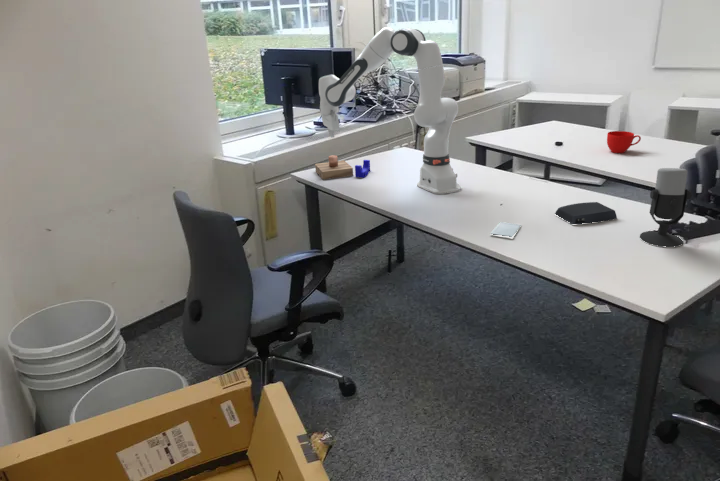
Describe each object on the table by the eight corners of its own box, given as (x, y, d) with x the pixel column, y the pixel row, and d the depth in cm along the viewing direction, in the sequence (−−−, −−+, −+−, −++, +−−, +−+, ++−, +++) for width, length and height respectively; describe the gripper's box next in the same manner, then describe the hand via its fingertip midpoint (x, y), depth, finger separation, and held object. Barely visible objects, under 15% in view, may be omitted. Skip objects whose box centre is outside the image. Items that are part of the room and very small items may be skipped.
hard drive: (513, 237, 179) (521, 224, 189) (490, 233, 183) (499, 221, 193) (512, 241, 180) (521, 228, 190) (489, 237, 184) (499, 225, 194)
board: (353, 175, 259) (352, 167, 258) (322, 179, 255) (322, 171, 254) (344, 167, 273) (344, 160, 272) (315, 171, 269) (315, 164, 268)
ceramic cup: (642, 154, 270) (645, 136, 266) (608, 154, 273) (611, 136, 269) (634, 148, 282) (637, 130, 278) (602, 148, 285) (604, 131, 281)
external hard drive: (552, 215, 200) (553, 205, 198) (595, 209, 204) (597, 199, 202) (573, 227, 188) (574, 217, 187) (618, 220, 192) (620, 210, 191)
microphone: (673, 232, 179) (689, 163, 169) (689, 248, 167) (707, 175, 157) (634, 231, 181) (647, 163, 171) (647, 247, 169) (662, 175, 159)
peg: (339, 173, 263) (338, 157, 259) (330, 174, 262) (329, 158, 258) (337, 170, 267) (336, 154, 263) (328, 171, 266) (327, 156, 262)
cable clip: (363, 178, 255) (363, 166, 253) (355, 177, 257) (354, 165, 255) (372, 171, 265) (372, 160, 263) (364, 170, 267) (364, 159, 265)
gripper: (341, 111, 242) (343, 139, 248) (330, 105, 261) (332, 132, 266) (328, 112, 241) (331, 141, 246) (318, 107, 259) (321, 134, 264)
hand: (331, 136), depth 256 cm, fingers closed
